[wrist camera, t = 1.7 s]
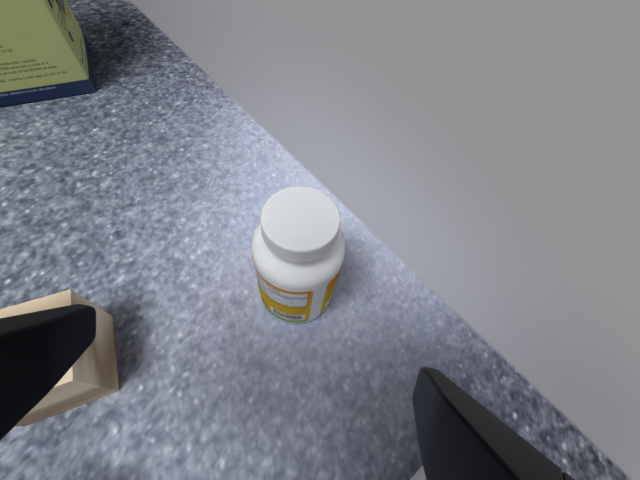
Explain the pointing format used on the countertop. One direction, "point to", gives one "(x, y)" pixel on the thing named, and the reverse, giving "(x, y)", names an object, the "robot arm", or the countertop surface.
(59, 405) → the maple block
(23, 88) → the protein box
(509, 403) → the countertop surface
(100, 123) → the countertop surface
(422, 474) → the white block
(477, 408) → the robot arm
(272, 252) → the supplement bottle
